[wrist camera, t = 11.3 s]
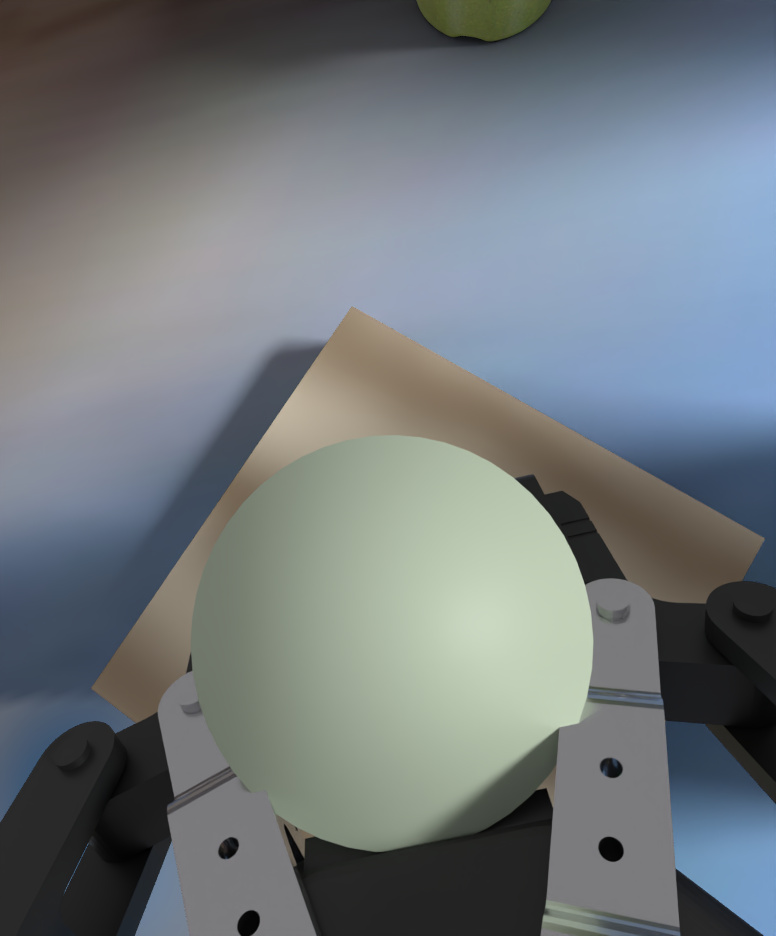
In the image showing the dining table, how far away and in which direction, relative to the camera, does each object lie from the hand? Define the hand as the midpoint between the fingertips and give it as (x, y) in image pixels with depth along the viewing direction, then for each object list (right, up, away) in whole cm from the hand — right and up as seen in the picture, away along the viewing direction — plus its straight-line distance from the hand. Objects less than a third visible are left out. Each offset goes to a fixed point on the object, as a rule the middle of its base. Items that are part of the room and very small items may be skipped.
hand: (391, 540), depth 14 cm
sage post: (+1, -3, +4) cm, 5 cm away
